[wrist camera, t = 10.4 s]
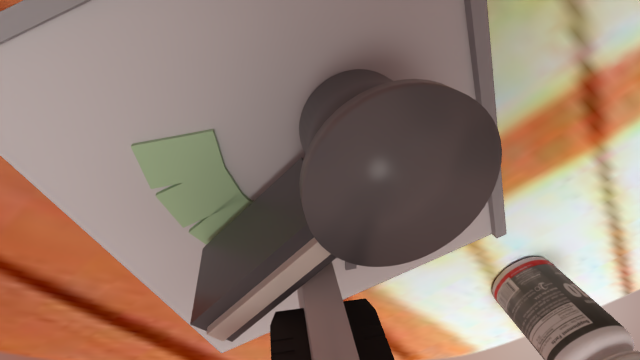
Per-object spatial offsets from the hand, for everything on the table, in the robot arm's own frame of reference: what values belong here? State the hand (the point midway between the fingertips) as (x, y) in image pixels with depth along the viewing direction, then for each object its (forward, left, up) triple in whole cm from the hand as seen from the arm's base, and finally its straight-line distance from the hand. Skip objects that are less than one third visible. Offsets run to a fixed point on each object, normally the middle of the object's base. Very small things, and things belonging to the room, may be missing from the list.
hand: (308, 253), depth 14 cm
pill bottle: (+14, +12, -3) cm, 19 cm away
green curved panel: (-1, 0, -2) cm, 2 cm away
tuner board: (-3, +1, -3) cm, 4 cm away
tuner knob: (-3, +2, -1) cm, 4 cm away
